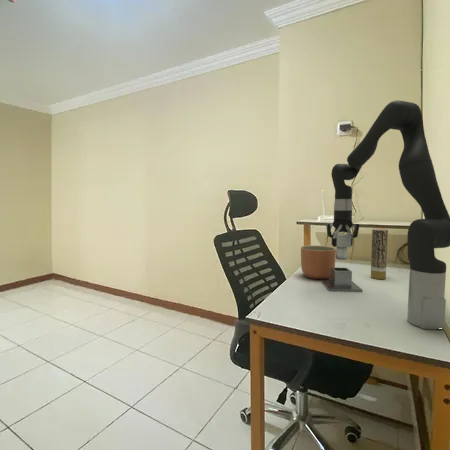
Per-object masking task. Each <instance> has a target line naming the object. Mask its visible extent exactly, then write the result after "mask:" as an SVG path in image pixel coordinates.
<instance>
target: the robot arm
mask: <svg viewBox="0 0 450 450" xmlns="http://www.w3.org/2000/svg"><path fill="white" fill-rule="evenodd" d="M422 113H423V112H422V110H421V107H420V106H419V105H418V104H416V103H414V102H411V101H405V100H399V99H397V100H392V101H390V102H389V103H388V104H387V105H385V107H384V108H383V109H382V111H381V112H380V113H379V114H378V116H377V118H376V119H375V120H374V122H373V123H372V125H371V127H370V128H369V130H368V131H367V132H366V134H365V136H364V137H363V138H362V140H361V141H360V142H359V143H358V144H357V146H356V147H355V148H354V149H353V150H352V151H351V152H350V154H349V155H348V156H347V158H346V161H347V163H336V164H335V165H333V166H332V169H331V179H332V182H333V183H332V184H333V188H334V202H333V221H332V223H326V225H325V226H326V235H327V237H329V238H331V246H332V247H334V248H337V247H336V239H335V238H336V235H337V234H340V233H345V234H348V235H351V247H352V246H353V242H354V241H353V240H354V239H355V238H358V236H359V230H360V224H359V223H353V200H352V199H353V188H352V186H351V185H348V184H347V183H346V182H345V181H352V180H353V179H355V178H356V177H357V176H358V174H359V173H360V171H361V169H362V167H363V165H365V164H366V163H367V162H368V161H369V160H370V159H371V158H372V157H373V156H374V155H375V153H376V150H377V148H378V143H379V141H380V139H381V137H382V136H383V135H384V134H385V133H387V132H388V131H390V130H394V131H395V130H397V131H400V134H401V136H402V140H403V150H402V152H401V155H400V157H399V160H398V170H399V171H398V172H399V175H400V180H401V183H402V185H403V187H404V188H405V190H406V191H407V192H408V194H409V195H410V196H411V197H412V198H413V199H414V201H416V202H417V203H418V206H420V208H421V211H422V214H423V217H424V218H418V219H417V218H416V219H415V220H413V221H412V222H411V223H410V225H409V227H408V230H407V238H406V239H407V242H406V243H407V259H408V261H409V274H408V275H409V276H408V277H409V278H408V300H407V316H406V317H407V318H406V319H407V322H408V323H409V324H411V325H413V326H416V327H418V328H420V329H422V330H436V329H439V328H442V329H443V330H442V331H444V330H445V321H446V319H445V318H446V304H447V303H446V301H447V300H446V299H445V295H446V291H445V290H446V277H447V276H446V275H447V264H446V262H445V261H443V260H440V259H438V258H437V257H436V254H435V249H445V248H449V247H450V214H449V211H448V209H447V207H446V205H445V202H444V199H443V197H442V196H443V195H442V192H441V189H440V187H439V183H438V180H437V175H436V172H435V168H434V164H433V160H432V158H431V155H430V151H429V146H428V142H427V139H426V135H425V134H426V133H425V127H424V120H423V114H422ZM333 227H334V230H333V233H332V229H333ZM351 229H353V232H352V230H351Z"/></svg>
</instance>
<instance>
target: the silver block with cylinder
mask: <svg viewBox="0 0 450 450" xmlns="http://www.w3.org/2000/svg"><path fill="white" fill-rule="evenodd" d="M335 239H336V247H335V248H336V258H335V260H338V261H339V260H342V261H345V260H347V259H348V257H347V256H348V248H352V246H351V235H348V234H347V233H338V234H337V235H336V238H335Z"/></svg>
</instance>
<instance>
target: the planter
mask: <svg viewBox="0 0 450 450" xmlns="http://www.w3.org/2000/svg"><path fill="white" fill-rule="evenodd" d="M336 249H337V247H333V246H328V245H316V244H315V245H313V244H311V245H303V246H300V266H301V271H302V273H303V274H304V276H305V277H307V278H310V279H313V280H328V279H330V278H331V267H336Z"/></svg>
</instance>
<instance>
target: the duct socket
mask: <svg viewBox="0 0 450 450" xmlns="http://www.w3.org/2000/svg"><path fill="white" fill-rule="evenodd" d="M320 282H321V284H322V285H323V286H324V287H325V288H326V290H327V291H328V292H346V293H347V292H348V293H350V292H353V293H354V292H355V293H363V289H362V288H361V287H360V286H359V285H358V284H356V283H355V281H353V271H352V270H351V269H350V268H348V267H336V266H335V267H331V277H330V279H320Z"/></svg>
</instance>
